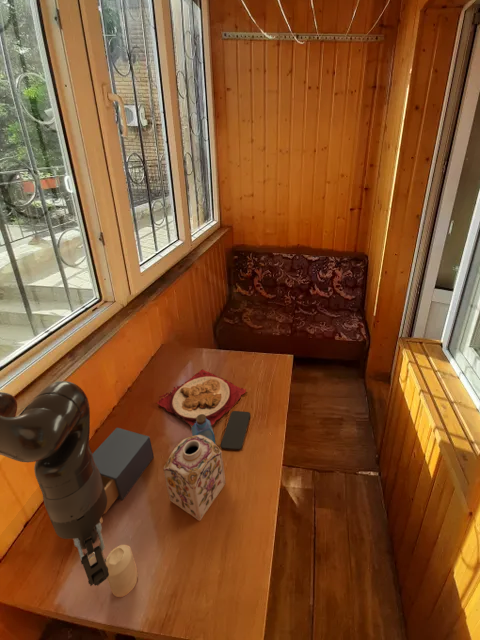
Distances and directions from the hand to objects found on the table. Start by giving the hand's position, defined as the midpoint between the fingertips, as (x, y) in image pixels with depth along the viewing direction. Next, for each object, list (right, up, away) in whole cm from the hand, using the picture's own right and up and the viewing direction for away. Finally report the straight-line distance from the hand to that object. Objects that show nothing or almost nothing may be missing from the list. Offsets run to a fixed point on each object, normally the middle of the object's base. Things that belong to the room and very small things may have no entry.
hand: (97, 555), depth 56 cm
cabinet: (-17, -13, +40) cm, 45 cm away
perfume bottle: (+6, -10, +49) cm, 50 cm away
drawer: (-20, -15, +31) cm, 40 cm away
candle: (-3, -22, +16) cm, 27 cm away
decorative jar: (+8, -15, +34) cm, 38 cm away
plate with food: (+1, -3, +68) cm, 68 cm away
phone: (+16, -8, +54) cm, 57 cm away
